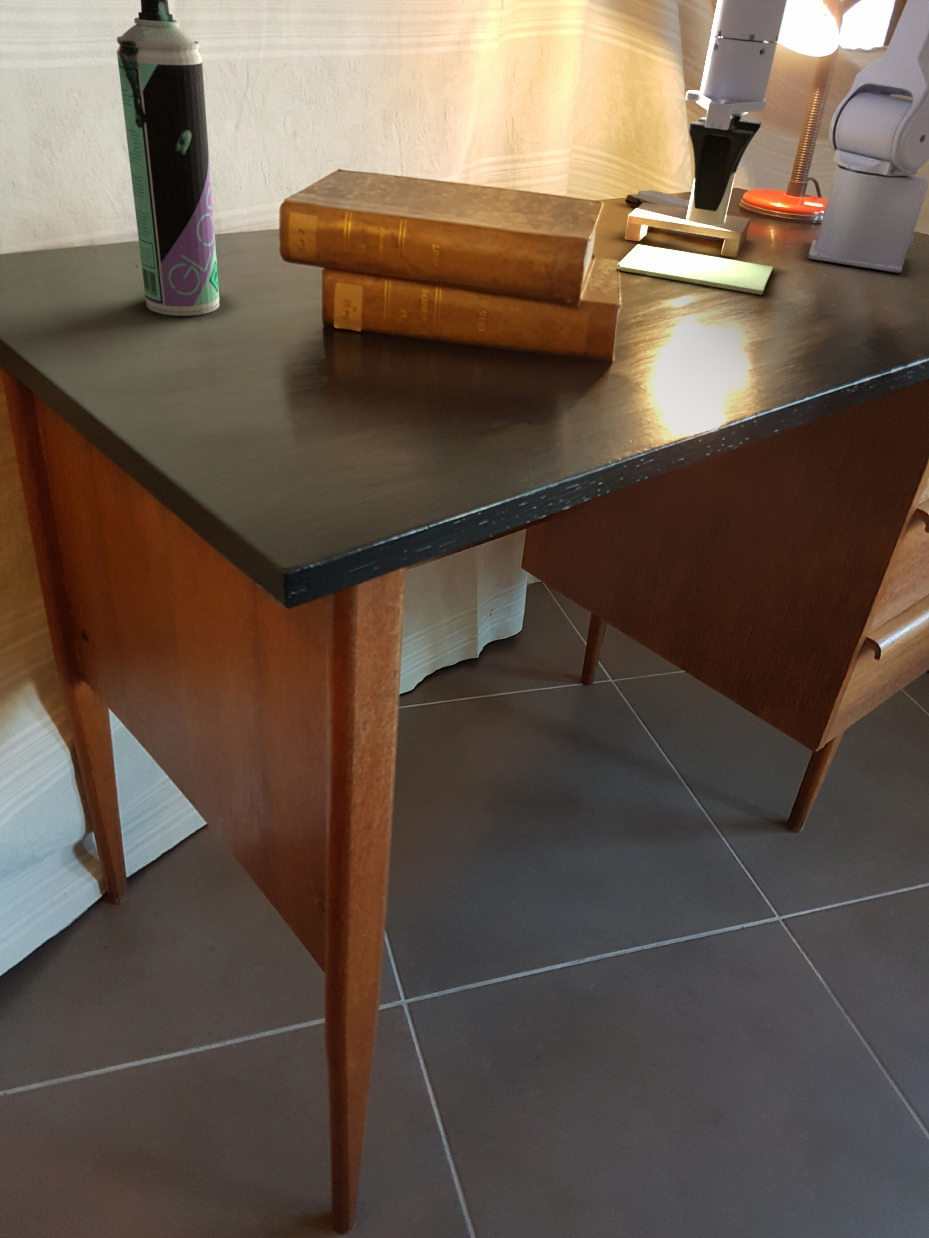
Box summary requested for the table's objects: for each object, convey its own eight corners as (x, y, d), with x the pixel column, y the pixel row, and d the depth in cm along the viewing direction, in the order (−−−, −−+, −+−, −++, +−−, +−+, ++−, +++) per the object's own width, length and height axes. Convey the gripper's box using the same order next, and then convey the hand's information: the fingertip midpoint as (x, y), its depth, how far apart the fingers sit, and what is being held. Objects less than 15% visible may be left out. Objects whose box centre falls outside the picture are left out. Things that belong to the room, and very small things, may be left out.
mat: (772, 270, 96) (773, 266, 96) (761, 295, 88) (763, 290, 88) (636, 248, 100) (637, 244, 100) (615, 269, 92) (616, 265, 92)
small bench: (745, 242, 106) (750, 218, 104) (736, 257, 100) (741, 232, 98) (639, 225, 109) (643, 202, 107) (624, 239, 103) (628, 215, 101)
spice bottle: (726, 220, 92) (743, 143, 89) (721, 227, 90) (738, 148, 86) (689, 214, 93) (705, 138, 89) (683, 221, 90) (699, 142, 87)
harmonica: (624, 205, 117) (626, 188, 116) (641, 204, 119) (644, 186, 118) (713, 233, 108) (717, 215, 107) (730, 231, 110) (735, 213, 109)
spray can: (201, 320, 71) (175, 1, 60) (133, 310, 72) (93, -7, 60) (230, 299, 75) (211, 0, 64) (166, 290, 76) (135, -8, 65)
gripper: (710, 32, 90) (680, 187, 97) (684, 37, 78) (653, 212, 86) (786, 40, 88) (750, 197, 96) (771, 46, 76) (731, 224, 84)
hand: (709, 205), depth 91 cm, fingers closed on spice bottle, 3 cm apart
